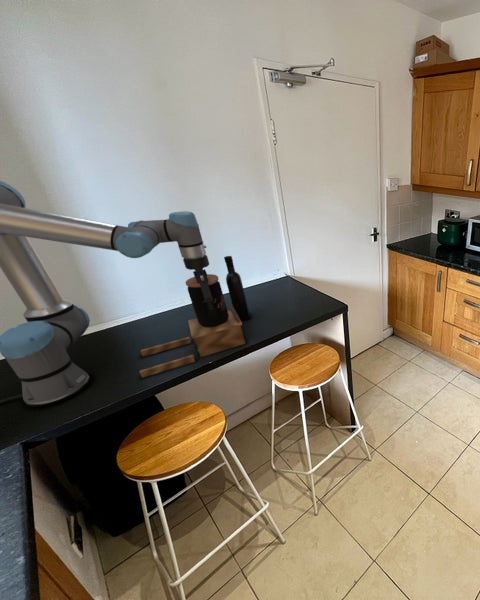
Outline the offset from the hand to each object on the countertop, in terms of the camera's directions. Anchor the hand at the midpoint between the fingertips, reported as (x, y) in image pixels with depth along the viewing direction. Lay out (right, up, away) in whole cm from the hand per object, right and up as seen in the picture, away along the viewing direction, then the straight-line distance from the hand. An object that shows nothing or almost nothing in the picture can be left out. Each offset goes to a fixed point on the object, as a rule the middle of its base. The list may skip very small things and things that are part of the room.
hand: (211, 310), depth 122 cm
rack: (-7, -16, +2) cm, 18 cm away
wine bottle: (0, -4, +25) cm, 26 cm away
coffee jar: (0, -5, +2) cm, 5 cm away
